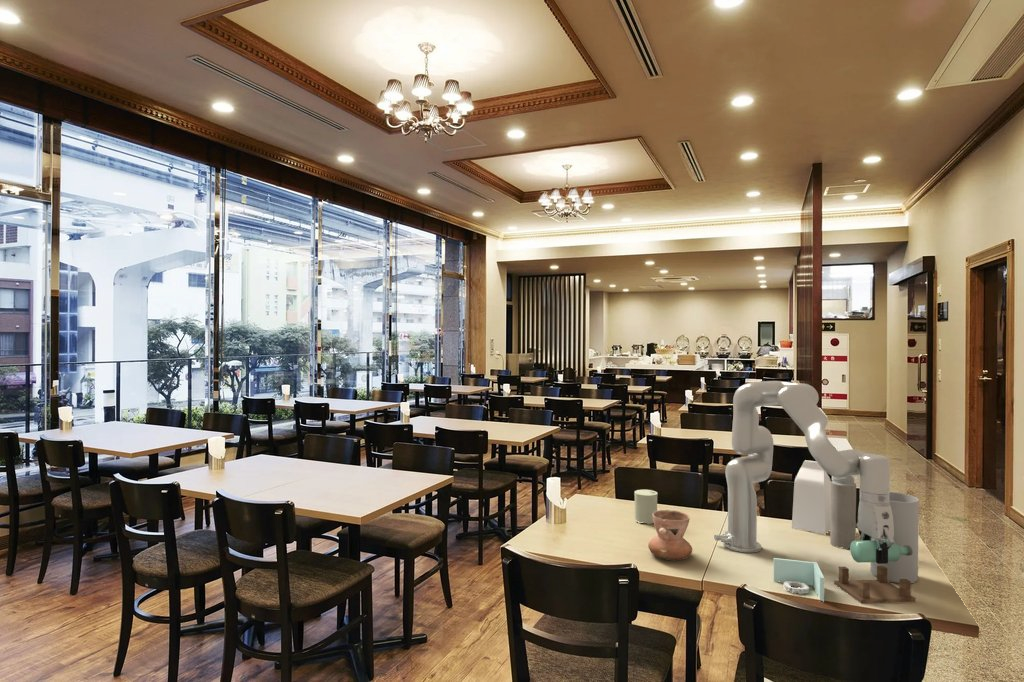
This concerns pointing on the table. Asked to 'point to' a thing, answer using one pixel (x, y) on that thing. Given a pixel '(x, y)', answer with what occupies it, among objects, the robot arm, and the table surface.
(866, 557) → the bottle
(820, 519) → the milk
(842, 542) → the thermos bottle
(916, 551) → the cylinder vase
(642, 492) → the can
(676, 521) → the ceramic jug
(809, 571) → the right angle wall
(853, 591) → the rest
